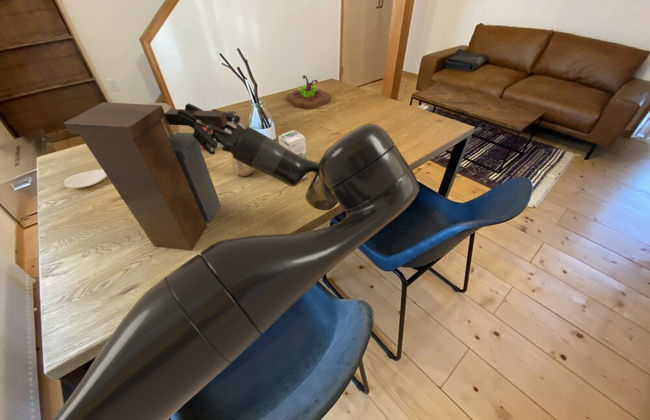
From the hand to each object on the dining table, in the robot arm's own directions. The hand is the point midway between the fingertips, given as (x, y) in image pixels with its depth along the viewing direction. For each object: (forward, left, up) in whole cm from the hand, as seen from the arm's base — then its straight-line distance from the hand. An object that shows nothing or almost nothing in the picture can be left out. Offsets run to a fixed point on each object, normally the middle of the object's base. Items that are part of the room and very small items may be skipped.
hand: (182, 110), depth 56 cm
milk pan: (0, +1, -5) cm, 5 cm away
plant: (+84, -9, -29) cm, 89 cm away
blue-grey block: (0, +6, -29) cm, 30 cm away
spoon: (+15, +39, -29) cm, 51 cm away
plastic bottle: (+20, 0, -29) cm, 35 cm away
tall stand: (-9, +6, -29) cm, 31 cm away
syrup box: (+20, -17, -29) cm, 39 cm away
